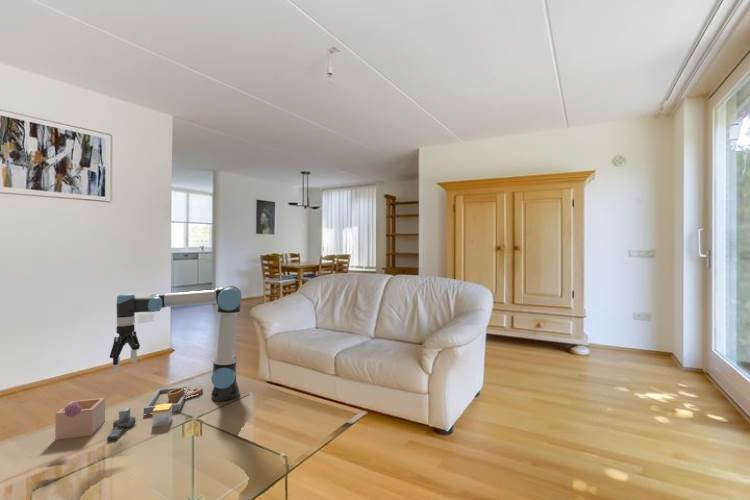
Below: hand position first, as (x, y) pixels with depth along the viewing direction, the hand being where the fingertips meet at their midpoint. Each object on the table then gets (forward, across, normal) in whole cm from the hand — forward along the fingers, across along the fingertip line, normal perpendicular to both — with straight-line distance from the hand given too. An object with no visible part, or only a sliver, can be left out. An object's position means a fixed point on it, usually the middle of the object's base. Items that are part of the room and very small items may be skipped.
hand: (125, 366), depth 179 cm
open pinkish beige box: (+27, +9, -15) cm, 32 cm away
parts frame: (+27, -20, +11) cm, 36 cm away
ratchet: (+27, +6, +3) cm, 28 cm away
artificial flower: (+22, +4, -17) cm, 28 cm away
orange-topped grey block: (+28, +4, +20) cm, 34 cm away
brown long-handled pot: (+27, -25, +19) cm, 42 cm away
